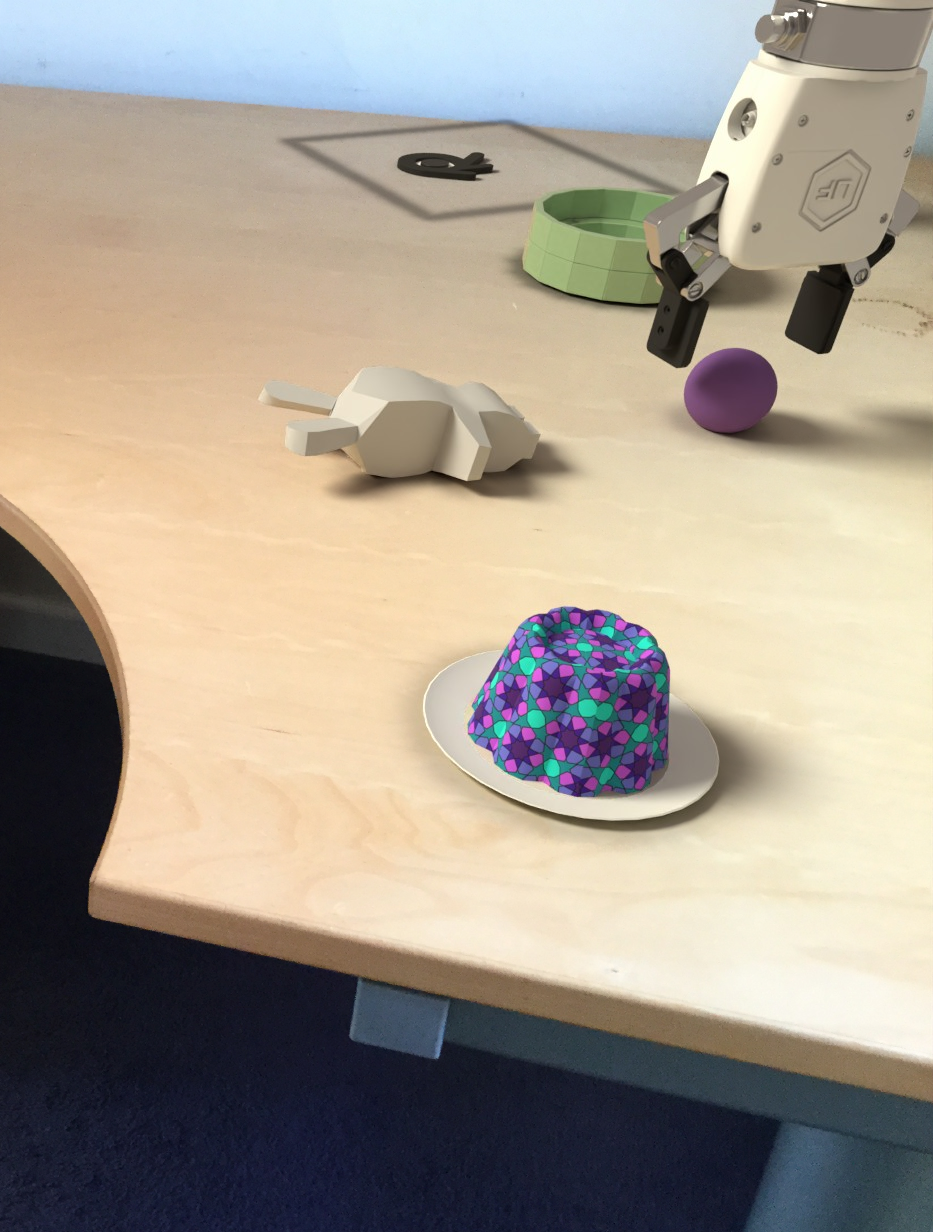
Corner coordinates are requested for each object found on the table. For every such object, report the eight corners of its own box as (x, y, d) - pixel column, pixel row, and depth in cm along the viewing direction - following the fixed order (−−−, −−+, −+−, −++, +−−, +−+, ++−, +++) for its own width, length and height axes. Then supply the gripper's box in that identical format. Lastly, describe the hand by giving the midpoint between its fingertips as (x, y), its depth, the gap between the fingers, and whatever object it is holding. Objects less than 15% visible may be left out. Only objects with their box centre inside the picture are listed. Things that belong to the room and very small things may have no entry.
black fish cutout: (470, 155, 134) (471, 148, 133) (517, 178, 128) (519, 169, 127) (384, 163, 131) (385, 155, 131) (429, 186, 125) (430, 178, 125)
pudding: (423, 811, 56) (448, 706, 53) (415, 647, 66) (436, 550, 63) (741, 854, 54) (786, 748, 51) (685, 679, 64) (721, 580, 61)
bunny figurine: (571, 429, 76) (307, 409, 73) (539, 513, 79) (284, 496, 76) (504, 360, 83) (262, 340, 81) (477, 439, 86) (243, 421, 84)
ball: (754, 417, 87) (781, 339, 84) (768, 451, 83) (797, 372, 80) (668, 407, 88) (692, 331, 85) (678, 442, 84) (703, 362, 81)
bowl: (692, 259, 110) (711, 194, 108) (716, 319, 100) (738, 249, 97) (517, 244, 113) (531, 181, 110) (523, 301, 103) (539, 233, 100)
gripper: (754, 57, 67) (650, 391, 77) (1039, 46, 71) (905, 365, 81) (656, 26, 73) (571, 340, 83) (924, 18, 77) (813, 318, 87)
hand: (737, 352), depth 82 cm, fingers open, 9 cm apart
